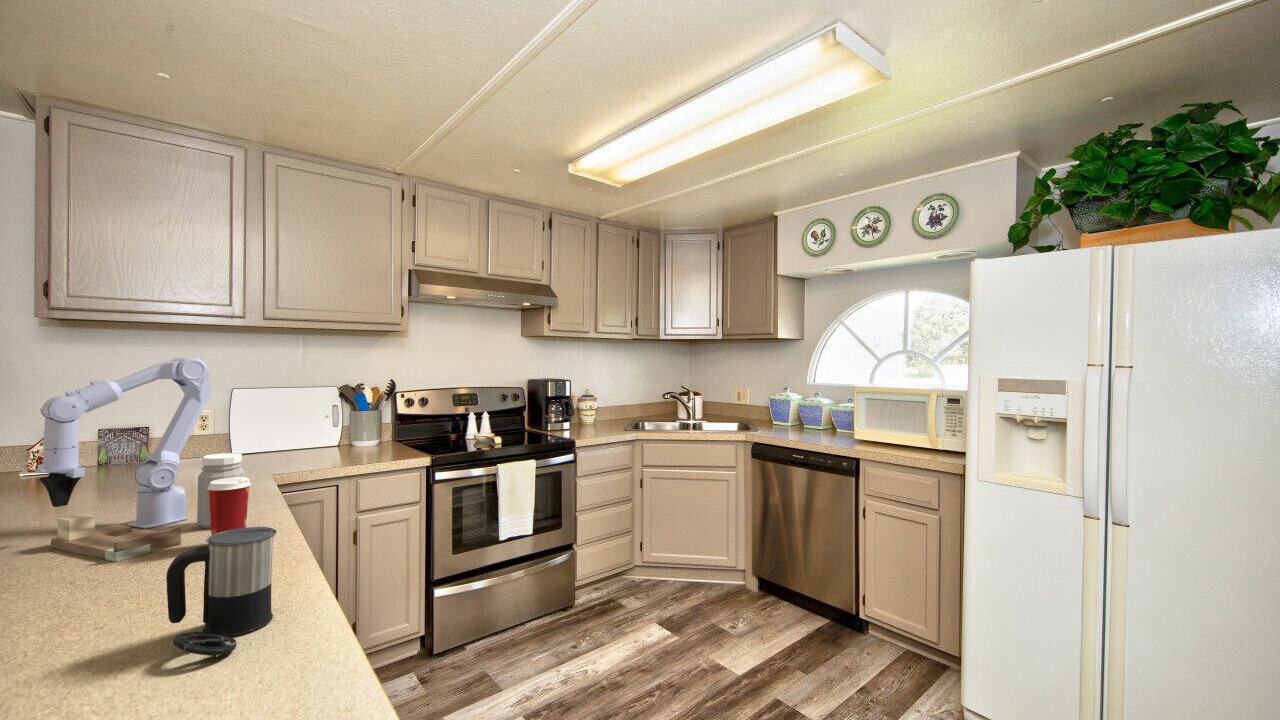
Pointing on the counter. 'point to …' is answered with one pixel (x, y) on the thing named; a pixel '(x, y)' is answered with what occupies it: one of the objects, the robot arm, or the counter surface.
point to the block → (76, 526)
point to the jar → (213, 470)
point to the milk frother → (225, 588)
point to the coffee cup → (228, 503)
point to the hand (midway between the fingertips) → (60, 505)
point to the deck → (120, 542)
